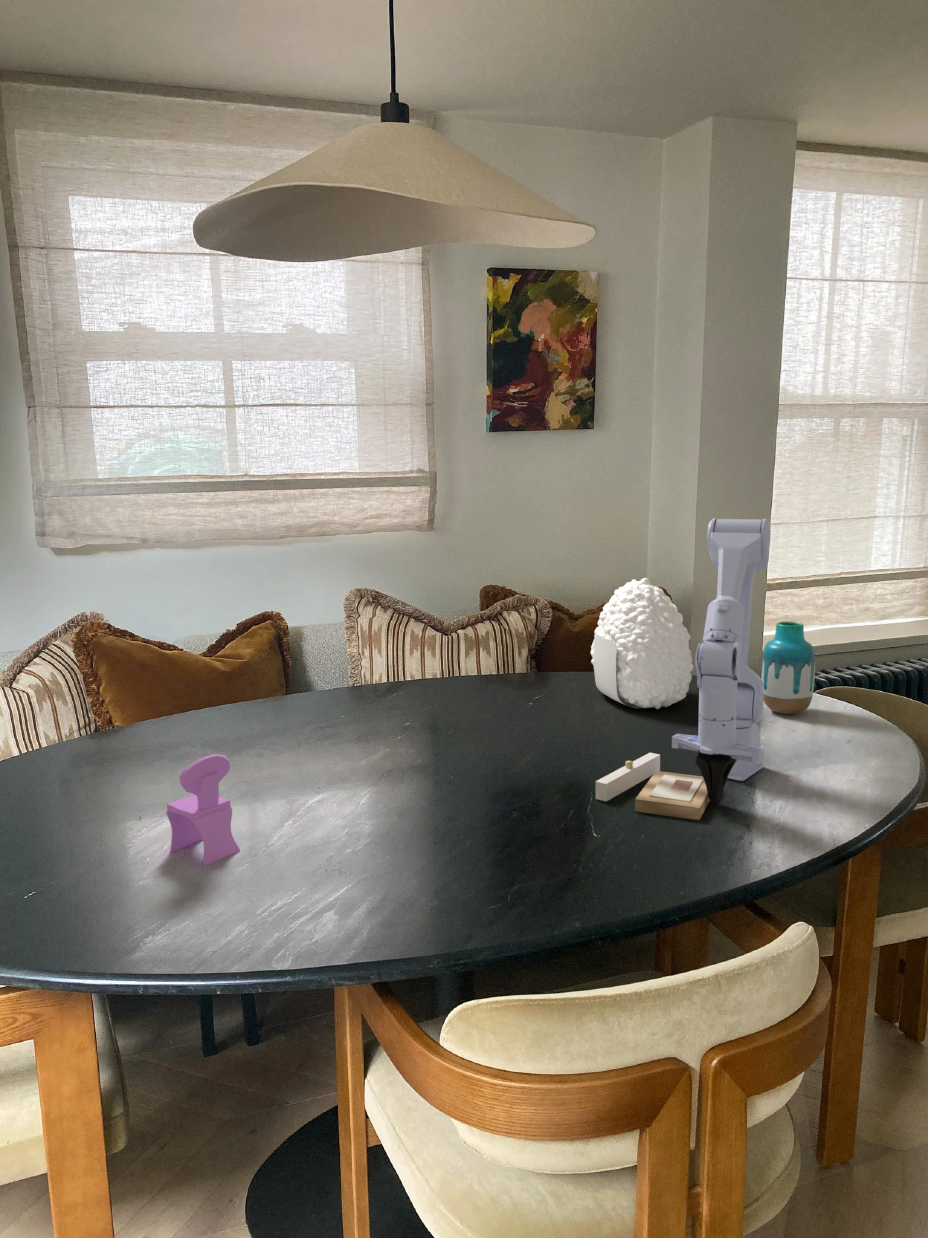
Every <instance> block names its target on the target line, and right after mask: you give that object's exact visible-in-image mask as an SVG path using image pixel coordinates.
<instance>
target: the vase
mask: <svg viewBox="0 0 928 1238" xmlns="http://www.w3.org/2000/svg"><path fill="white" fill-rule="evenodd" d="M804 633H805V632H804V624H803V623H802V622H798V621H792V620H791V621H790V620H789V621H778V622H777V623H775V633H774V634H775V635H774V637H773V639H771V640H769V641H768V642H766V644H765V646H764V647H763V652H762V659H761V660H762V661H761V675H760V677H761V679H762V681H763V704H765V706H766V707H767V709H769V710H771V711H773V712H775V713H776V712H777V713H779V714H787V715H788V714H789V715H790V714H799V713H802V712H804V711H806V710H807V709H808V708H809V707H810V705H811V703H812V701H813V697H814V689H815V679H816V677H815V675H816V658H815V657H816V655H815V649H814V647H813V645H812V644H811V643H810V642H808V641H807V640H806V638H805V635H804Z"/></svg>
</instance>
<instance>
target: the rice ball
mask: <svg viewBox="0 0 928 1238" xmlns="http://www.w3.org/2000/svg"><path fill="white" fill-rule="evenodd" d="M613 594H614V595H612V596H611V597H610V599H609V602H607V603H605V604H604V606H603V607H602V611H601V612H600V614H599V616H598V617H599V619H598V621H597V627H596V628H595V630H594V635H593V637H594V639H593V642H591V643H592V645H591V646H590V648H591V649H590V651H589V652H590V655H591V657H592V659H591V661H590V662H591V664H592V666H593V670H594V671H593V673H594V681H595V686H596V687H597V689H598V690H599V691H600V692H601V693H602V694H603V695H605V696H607V697H608V698H609V699H612V700H614V701H615V702H618V703H620V704H623V705H625V706H627V707H629V708H634V709H648V708H649V709H651V708H654V709H656V710H659V709H661V708H662V707H663V708H667V707H670V706H671V705H673V704H676V703H678V702H680V701H682V700H683V699H685V698H686V697H687V693H688V692H689V689H690V687H689V686H690V683H691V681H692V679H693V677H692V674H691V672H692V671H693V670H694V665H693V663H692V662H693V656H692V651H691V649H692V648H691V642H690V639H691V634H690V633H689V632H688V629H687V627H685V626H684V624H683V622H684V616H683V614H681V612H678V611H679V608H678V606H676V605H675V604H674V603H673V602H672V599H671V598H670V597H669V596H668V595H666V594H665V592H664V590H663V589H662V588H659V587H658V586H654V585H652V584H651V581H650V579H649V578H647V577H644V578H642V579H640V580H637V579H635V578H634V579H632V580H631V581H628V582H626V583H625V585H623V586H620V587H618V589H614V591H613Z"/></svg>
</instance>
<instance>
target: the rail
mask: <svg viewBox="0 0 928 1238" xmlns="http://www.w3.org/2000/svg"><path fill="white" fill-rule="evenodd" d="M656 771H661V754H658V753H656V752H655V753H653V752H648V753H647V754H645V755H641V757H639V758H636V759H635V760H633V761H632V760H626V761H625V765H624V766H621V767H620V768H618V769H616V770H614V771H613V772H611V773H609V774H607V775H605V776H603V777H601V778H600V779H597V780H596V781H595V799H596V800H599V801H603V802H608V801H611V800H612V799H613V798H615V797H617V796H619V795H620V794H622V793H624V792H626V791H627V790H629V789H631V788H632V787H635V786H636V785H637V784H640V783H641V782H643V781H644V780H647V779H648V778H651V777H652V776H653V775H654V773H655V772H656Z"/></svg>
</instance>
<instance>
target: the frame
mask: <svg viewBox="0 0 928 1238" xmlns="http://www.w3.org/2000/svg"><path fill="white" fill-rule="evenodd" d="M710 801H711V800H710V799H709V797H708V792H707V788H706V784H705V781H704V778H703V776H702V775H701V776H700V775H691V774H685V773H677V772H668V771H661V770H660V771H656V772H655V773H654V775H652V776H650V778H649V780H648V781H647V783H646V784H645V785H644V787H643V788H642V789H641V791H640V792H639V793H638V795H637V796H636V797H635V800H634V802H635V803H634V811H635V812H639V813H645V814H646V813H647V814H653V815H658V816H668V817H674V818H681V819H688V820H694V821H700V820H701V818H702V817H703V816H702V815H703V814H704V813H705V810H706V808H707V806H708V805H709V802H710Z"/></svg>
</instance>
